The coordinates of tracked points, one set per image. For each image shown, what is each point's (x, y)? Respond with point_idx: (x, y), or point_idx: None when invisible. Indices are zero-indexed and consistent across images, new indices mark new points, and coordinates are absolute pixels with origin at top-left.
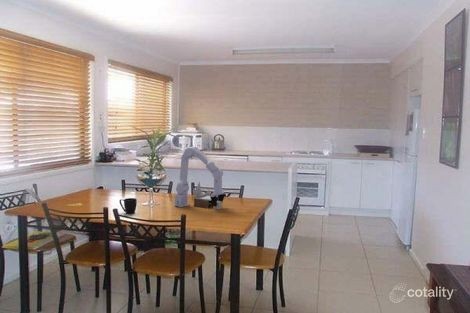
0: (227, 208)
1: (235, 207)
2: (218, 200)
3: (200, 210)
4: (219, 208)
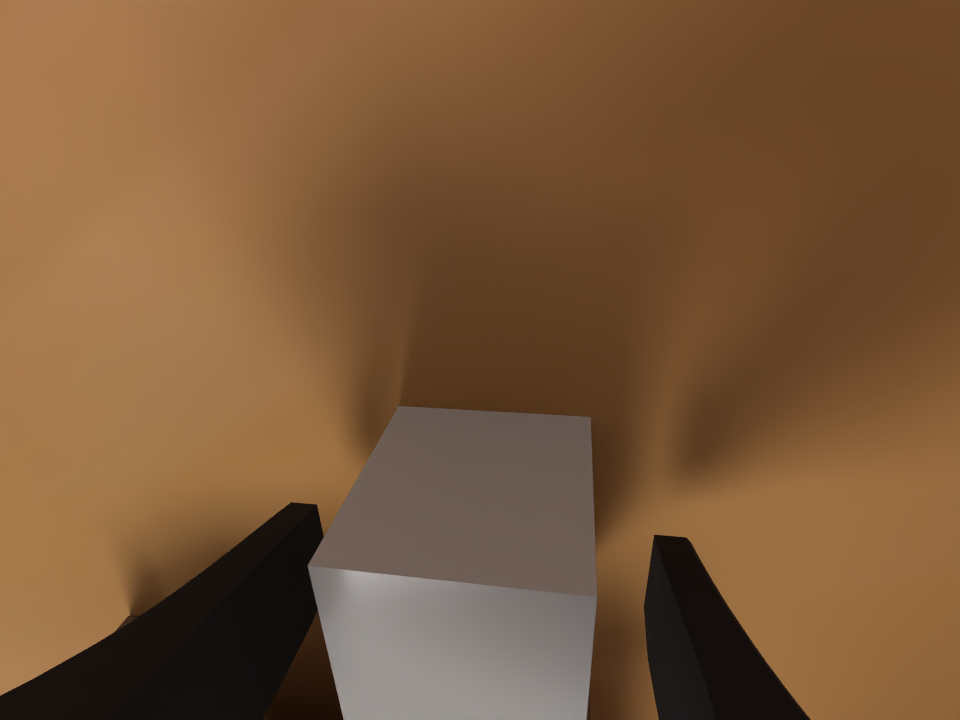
0: (310, 257)
1: (9, 107)
2: None
3: (946, 716)
4: (541, 425)
